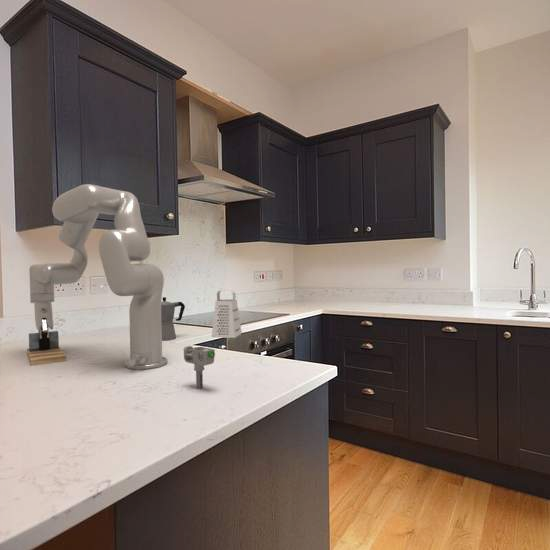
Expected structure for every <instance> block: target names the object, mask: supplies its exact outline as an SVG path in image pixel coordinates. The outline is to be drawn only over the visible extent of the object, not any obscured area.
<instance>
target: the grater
mask: <svg viewBox="0 0 550 550" xmlns="http://www.w3.org/2000/svg"><path fill="white" fill-rule="evenodd" d="M222 291H223V292H231V293H232V299H221V292H222ZM213 311H214V313H213V321H212V322H213V323H212V332H211V338H222V339H223V338H227V339H229V338H230V339H235V338H237V337H239V336H240V335H242V333H243V331H242V327H241V326H242V325H241V320H240V313H239V307H238V300H237V299H236V292H235V290H233V289H232V290H229V289H228V290H227V289H226V290H225V289H223V290H221V289H220V290H218V291H217V292H216V300H215V303H214V310H213Z"/></svg>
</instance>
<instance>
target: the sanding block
mask: <svg viewBox="0 0 550 550" xmlns="http://www.w3.org/2000/svg"><path fill="white" fill-rule="evenodd" d="M59 338H60V337H59V331H58V330H53V331H49V339H50V349H46V350H51V349H59V347H60V344H59ZM39 339H40V333H38V332H32V333H28V348H29V351H30V352H34V351H42V350H39Z"/></svg>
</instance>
